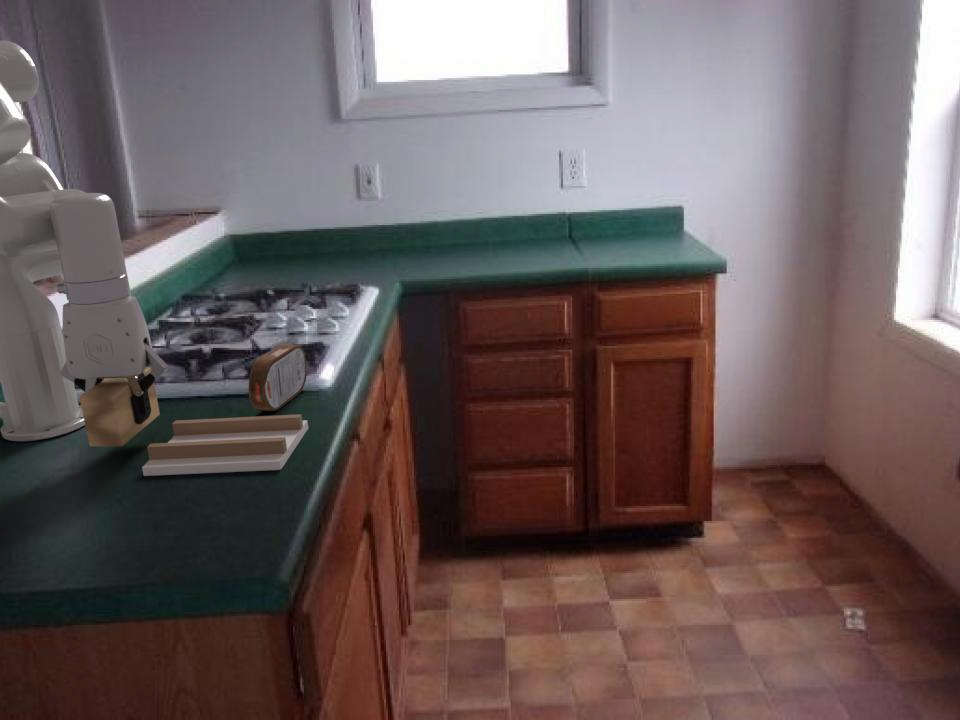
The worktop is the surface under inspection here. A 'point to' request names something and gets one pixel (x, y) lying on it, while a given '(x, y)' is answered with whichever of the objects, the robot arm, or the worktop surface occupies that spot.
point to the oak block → (113, 412)
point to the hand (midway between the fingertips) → (124, 419)
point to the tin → (277, 377)
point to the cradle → (227, 445)
